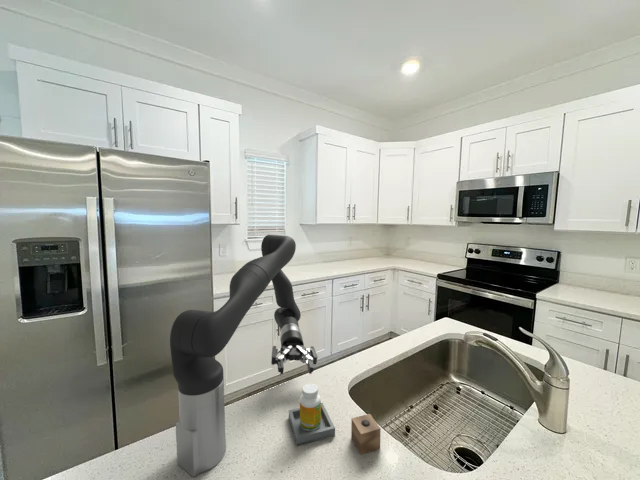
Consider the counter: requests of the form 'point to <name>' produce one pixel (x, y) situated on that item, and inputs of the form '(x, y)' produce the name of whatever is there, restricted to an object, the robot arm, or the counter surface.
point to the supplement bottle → (310, 408)
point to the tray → (311, 436)
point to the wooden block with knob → (365, 433)
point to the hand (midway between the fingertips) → (296, 371)
